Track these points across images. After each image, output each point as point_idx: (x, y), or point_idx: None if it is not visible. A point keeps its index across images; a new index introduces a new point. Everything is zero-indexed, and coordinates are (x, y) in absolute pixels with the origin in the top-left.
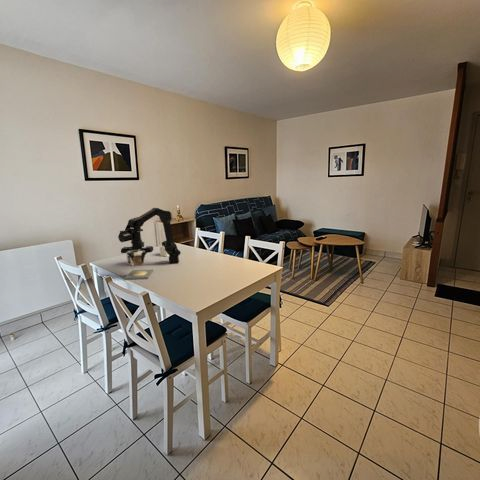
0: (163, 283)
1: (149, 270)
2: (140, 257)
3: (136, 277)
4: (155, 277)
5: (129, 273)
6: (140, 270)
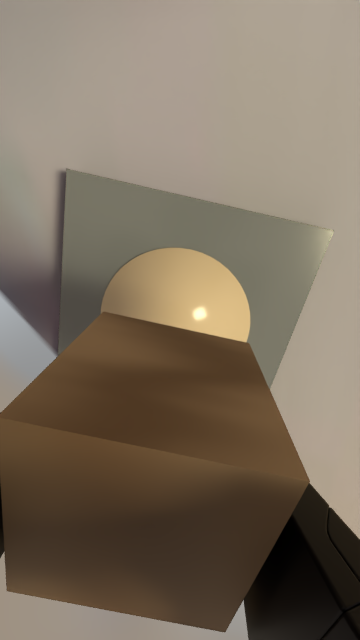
0: (346, 520)
1: (282, 255)
2: (215, 625)
3: None
4: (312, 410)
5: (65, 291)
6: (174, 220)
